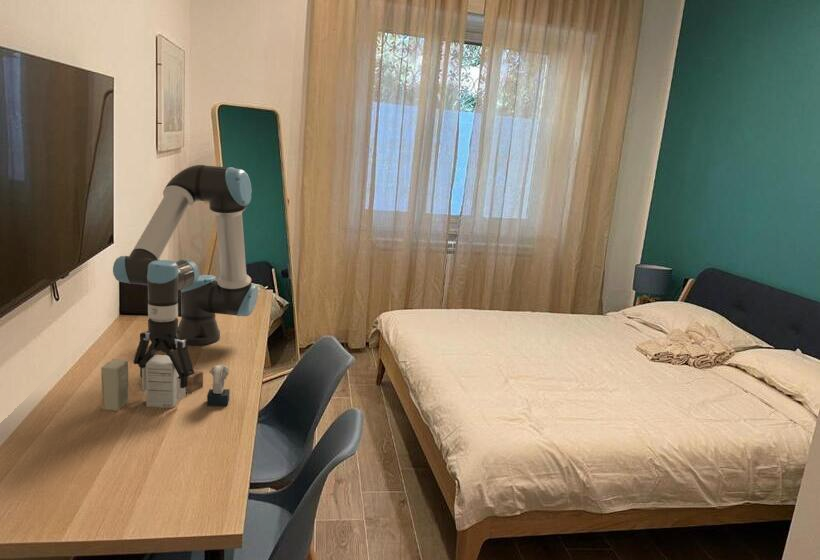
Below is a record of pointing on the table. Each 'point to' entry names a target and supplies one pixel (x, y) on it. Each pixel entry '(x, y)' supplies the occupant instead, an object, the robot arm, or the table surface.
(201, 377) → the walnut cube
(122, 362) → the skincare box
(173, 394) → the supplement box
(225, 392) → the watch
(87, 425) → the table surface
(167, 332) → the robot arm
